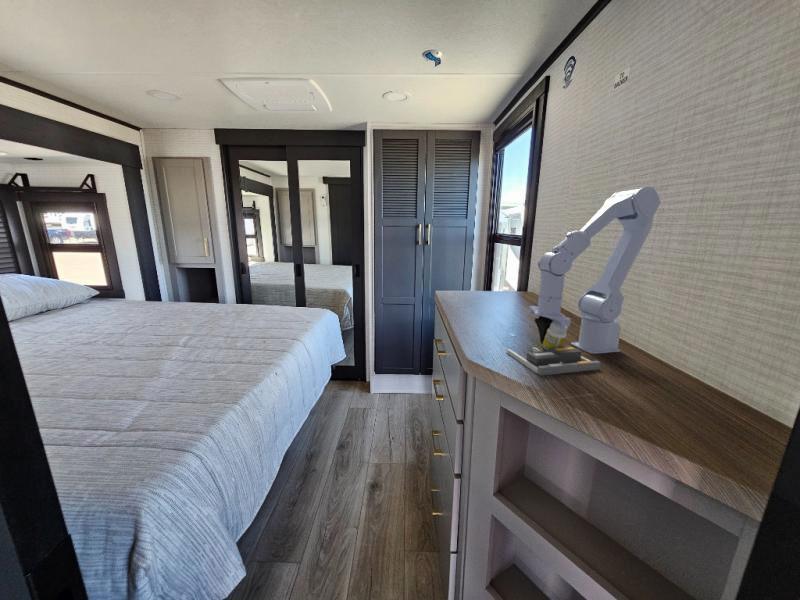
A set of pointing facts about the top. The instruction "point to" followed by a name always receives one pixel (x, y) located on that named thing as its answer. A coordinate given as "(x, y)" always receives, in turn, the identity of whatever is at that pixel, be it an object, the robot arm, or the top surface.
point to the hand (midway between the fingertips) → (544, 343)
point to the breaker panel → (557, 365)
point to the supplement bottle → (554, 336)
